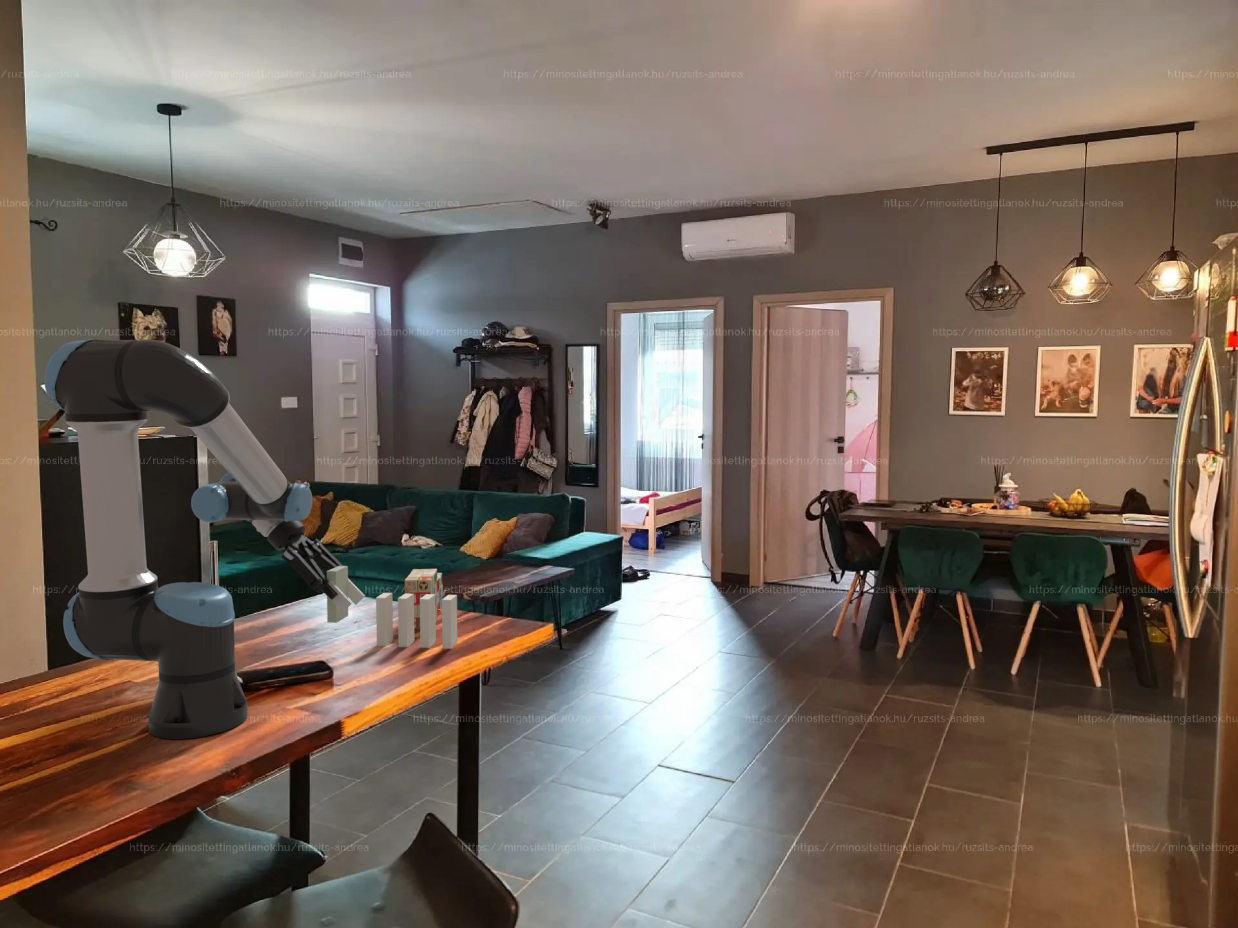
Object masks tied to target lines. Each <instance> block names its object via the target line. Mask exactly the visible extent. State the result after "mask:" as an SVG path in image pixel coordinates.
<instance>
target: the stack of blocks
mask: <svg viewBox="0 0 1238 928" xmlns="http://www.w3.org/2000/svg"><path fill="white" fill-rule="evenodd" d="M443 591H444V585H443V573H442V572H438V568H421V569H419V568H418V569H417V568H414V569H412V570H411V571H410V573H409V574H408V576H407V577H406V578H405V579H404V594H414V630H420V599H421V598H422V597H423V596H425V595H426V594H435V620H436V621H437V620H438V617H439V614H440V613H441V612H442V610H438V609H442V599H444V596H443V595H444V592H443Z"/></svg>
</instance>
